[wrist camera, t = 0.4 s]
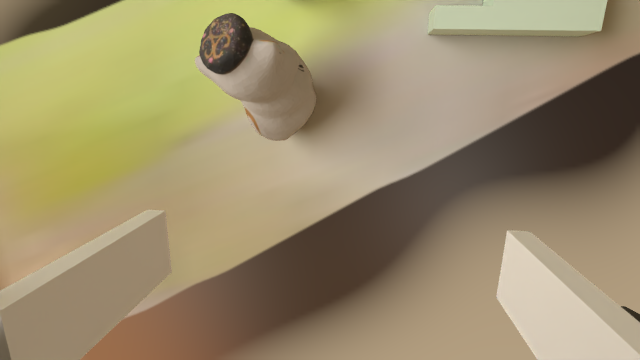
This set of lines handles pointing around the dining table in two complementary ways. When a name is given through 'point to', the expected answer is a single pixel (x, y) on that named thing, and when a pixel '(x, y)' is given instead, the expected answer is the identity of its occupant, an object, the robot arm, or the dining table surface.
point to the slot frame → (519, 18)
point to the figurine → (258, 75)
